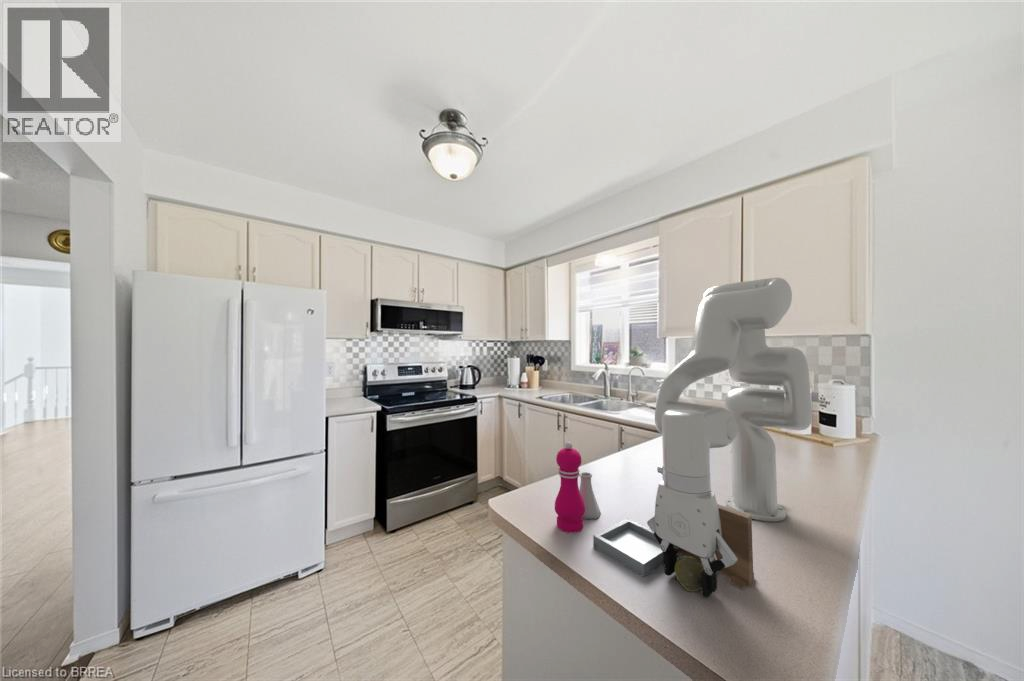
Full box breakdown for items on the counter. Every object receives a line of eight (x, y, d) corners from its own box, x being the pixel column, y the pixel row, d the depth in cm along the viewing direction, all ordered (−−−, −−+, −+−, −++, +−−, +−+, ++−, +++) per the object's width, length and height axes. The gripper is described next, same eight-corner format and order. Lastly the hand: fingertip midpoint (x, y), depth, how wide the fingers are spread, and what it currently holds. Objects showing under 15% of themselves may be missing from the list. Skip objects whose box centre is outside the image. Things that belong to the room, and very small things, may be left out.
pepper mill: (578, 537, 75) (577, 448, 75) (549, 528, 79) (548, 443, 79) (589, 523, 81) (588, 440, 81) (562, 515, 85) (560, 436, 85)
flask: (601, 521, 82) (601, 480, 82) (572, 518, 83) (571, 478, 83) (600, 507, 89) (599, 470, 89) (572, 505, 90) (571, 468, 90)
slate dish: (627, 528, 78) (627, 518, 78) (678, 553, 68) (677, 541, 68) (593, 546, 71) (593, 535, 71) (643, 577, 61) (643, 564, 61)
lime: (709, 588, 59) (708, 559, 59) (694, 599, 56) (693, 569, 56) (684, 574, 62) (683, 546, 62) (669, 584, 60) (668, 555, 60)
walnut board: (676, 541, 73) (675, 486, 73) (757, 579, 60) (755, 512, 61) (663, 549, 70) (662, 491, 70) (746, 591, 58) (743, 521, 58)
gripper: (631, 470, 65) (633, 565, 64) (730, 503, 50) (734, 625, 50) (653, 462, 69) (655, 551, 68) (750, 490, 55) (754, 602, 54)
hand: (689, 581), depth 59 cm, fingers open, 5 cm apart
